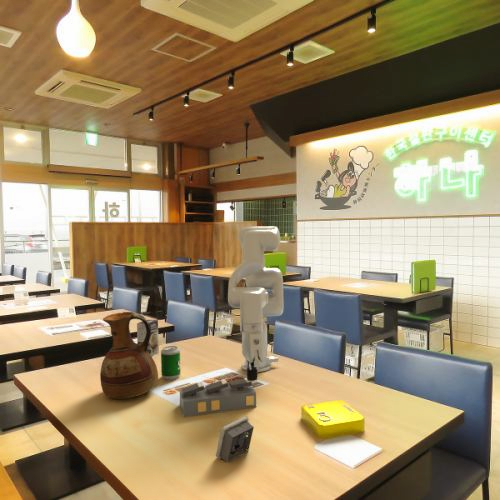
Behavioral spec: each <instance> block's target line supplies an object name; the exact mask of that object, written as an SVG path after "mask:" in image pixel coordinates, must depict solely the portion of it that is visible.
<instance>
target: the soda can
mask: <svg viewBox="0 0 500 500" xmlns="http://www.w3.org/2000/svg"><path fill="white" fill-rule="evenodd" d="M160 358H161V359H160V364H161V366H160V367H161V371H160V372H161V377H162V378H163V379H164V380H167V381H173V380H176V379H179V377H180V376H181V350H180V348H179V347H178V346H176V345H169V346H164V347H163V348H162V349H161V350H160Z"/></svg>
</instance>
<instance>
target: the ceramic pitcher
mask: <svg viewBox="0 0 500 500" xmlns="http://www.w3.org/2000/svg"><path fill="white" fill-rule="evenodd" d="M132 320H140V322H143V323H144V324H145V327H146V336H145V339H144V342H143V343H142V344H137V343H136V342H135V341H134V340H133V337H132V336H131V332H130V331H131V329H130V323H131V321H132ZM147 320H148V319H147V318H146V317H145V316H144V315H142V314H140V313H138V312H134V311H123V312H117V313H112V314H109V315H106V316H105V317H103V318H102V321H103V322H105V323H107V325H109V327H110V333H111V336H112V347H111V348H110V349H109V350H108V352H107V353H106V354H105V355H104V358H103V360H102V362H101V366H100V367H101V368H100V374H99V375H100V377H99V379H100V387H101V390H102V393H103V394H104V395H105V396H106V397H107V398H110V399H115V400H116V399H117V400H121V399H127V398H128V399H129V398H132V397H134V398H135V397H136V396H140V395H143V394H145V393H147V392H149V391H151V390H153V389H154V388H156V386H157V385H158V383H159V371H158V366H157V365H156V362H155V360H154V358H153V356H151V355H150V354H149V352H148V350H147V348H148V344H149V339H150V326H149V324H148V322H147Z"/></svg>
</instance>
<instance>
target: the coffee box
mask: <svg viewBox="0 0 500 500" xmlns="http://www.w3.org/2000/svg"><path fill="white" fill-rule="evenodd" d="M146 320H147V322H148V324H149V326H150V339H149V344H148V348H147V350H148V352H149V354H150V355H151V356H152V357H153V356H155V355H157V354H159V353H160V351H159V320H158V319H146ZM136 334H137V335H136V338H137V339H136V340H137V341H136V342H137V344H142V343H143V342H144V339H145V336H146V327H145V324H144V323H143V322H142V321H139V322H136Z"/></svg>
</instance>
